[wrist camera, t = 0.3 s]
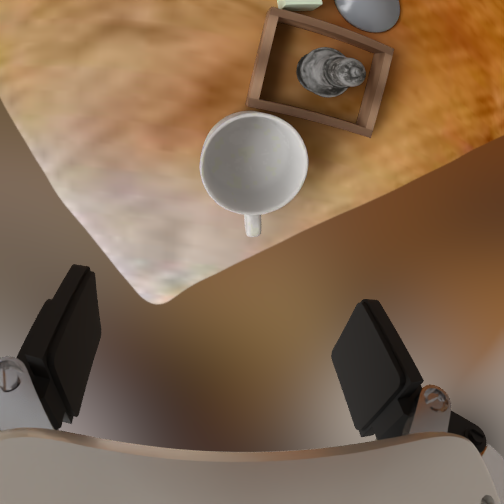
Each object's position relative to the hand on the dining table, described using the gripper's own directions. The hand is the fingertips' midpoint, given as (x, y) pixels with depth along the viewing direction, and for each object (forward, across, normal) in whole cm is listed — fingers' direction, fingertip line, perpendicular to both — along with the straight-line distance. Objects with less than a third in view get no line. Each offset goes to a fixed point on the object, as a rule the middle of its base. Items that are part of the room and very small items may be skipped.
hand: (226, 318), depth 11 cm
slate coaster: (+30, -14, -23) cm, 40 cm away
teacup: (+30, -4, +2) cm, 30 cm away
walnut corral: (+30, -10, -11) cm, 33 cm away
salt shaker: (+30, -10, -11) cm, 33 cm away
